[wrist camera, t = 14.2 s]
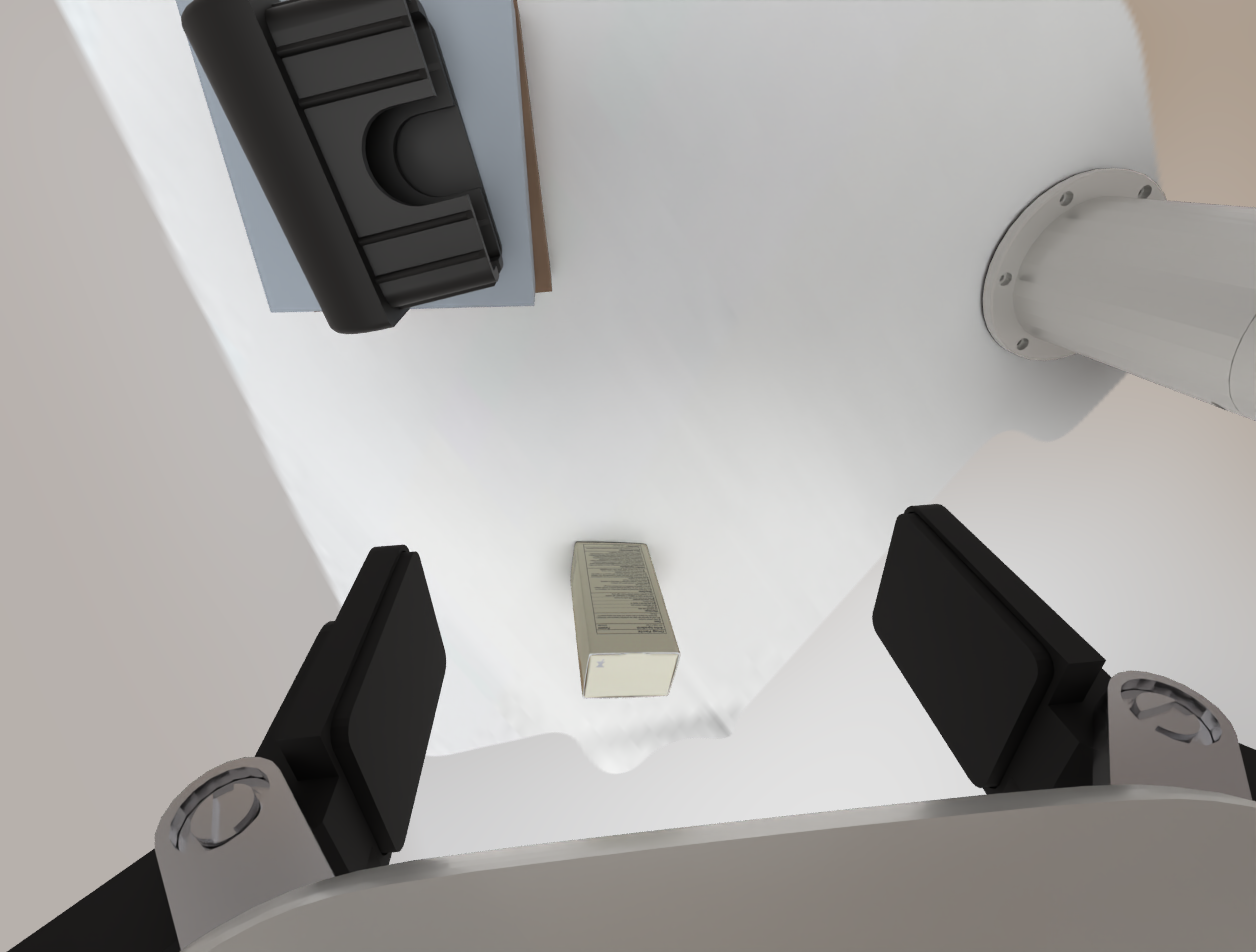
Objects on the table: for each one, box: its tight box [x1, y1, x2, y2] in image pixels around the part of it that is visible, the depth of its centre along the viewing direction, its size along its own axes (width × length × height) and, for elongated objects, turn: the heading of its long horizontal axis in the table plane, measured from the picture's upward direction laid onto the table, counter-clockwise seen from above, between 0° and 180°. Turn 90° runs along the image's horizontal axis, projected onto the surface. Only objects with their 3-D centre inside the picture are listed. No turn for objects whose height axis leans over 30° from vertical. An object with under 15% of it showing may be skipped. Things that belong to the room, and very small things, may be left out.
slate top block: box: [176, 0, 535, 312], centre depth 26 cm, size 12×12×5 cm
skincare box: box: [571, 543, 680, 699], centre depth 43 cm, size 6×4×12 cm
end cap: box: [181, 0, 503, 334], centre depth 21 cm, size 10×7×7 cm
